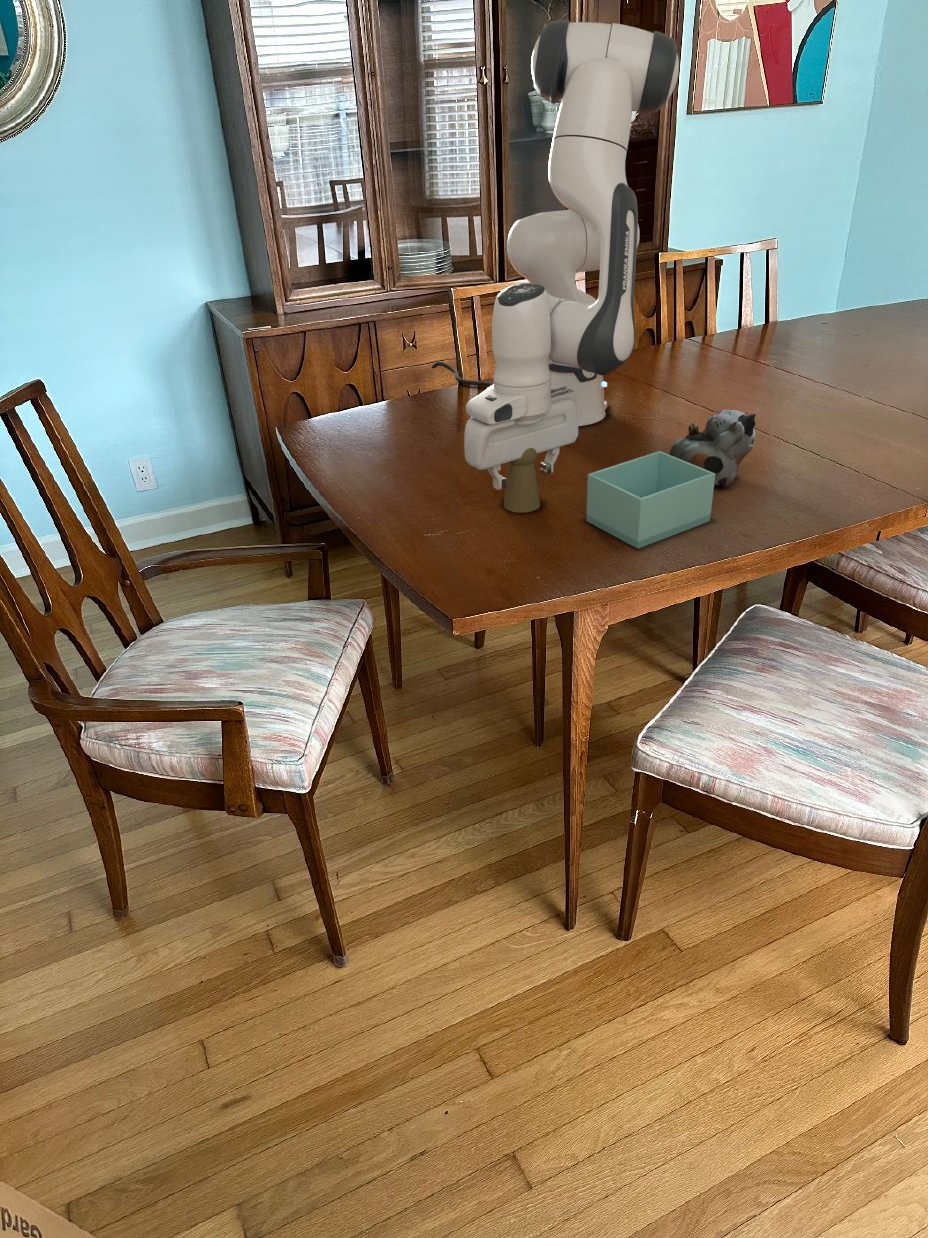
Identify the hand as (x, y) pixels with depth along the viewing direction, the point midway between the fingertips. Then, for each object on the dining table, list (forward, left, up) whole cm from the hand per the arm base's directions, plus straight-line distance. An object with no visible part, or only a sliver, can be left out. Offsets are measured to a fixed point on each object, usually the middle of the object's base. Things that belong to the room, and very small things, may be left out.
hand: (523, 480), depth 139 cm
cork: (0, 0, -5) cm, 5 cm away
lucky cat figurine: (+10, +32, -5) cm, 34 cm away
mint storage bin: (+11, +12, 0) cm, 16 cm away
